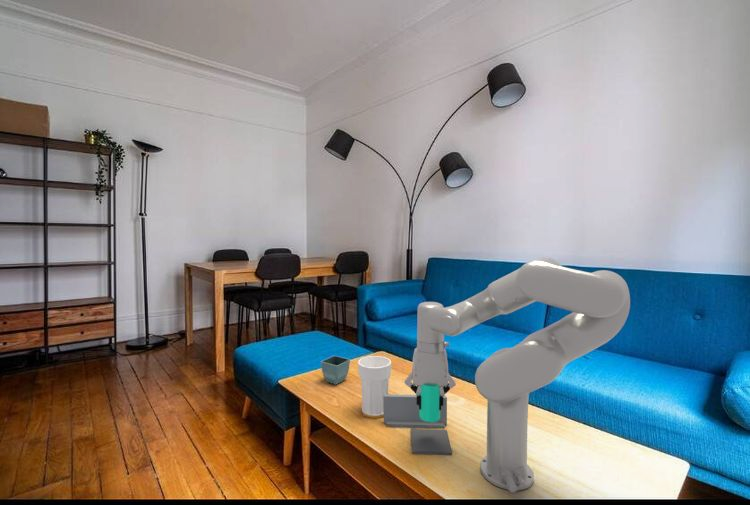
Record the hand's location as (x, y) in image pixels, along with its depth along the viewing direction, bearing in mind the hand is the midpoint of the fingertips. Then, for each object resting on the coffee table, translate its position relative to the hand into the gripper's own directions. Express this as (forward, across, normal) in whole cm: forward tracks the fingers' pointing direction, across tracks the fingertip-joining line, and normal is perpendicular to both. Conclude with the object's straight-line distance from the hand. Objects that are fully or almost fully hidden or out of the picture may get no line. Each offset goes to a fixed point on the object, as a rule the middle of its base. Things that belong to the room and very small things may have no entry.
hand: (429, 406), depth 101 cm
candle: (+3, 0, 0) cm, 3 cm away
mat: (+11, 0, 0) cm, 11 cm away
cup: (+11, +17, -17) cm, 26 cm away
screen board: (+11, +4, -10) cm, 15 cm away
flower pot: (+11, +35, -40) cm, 54 cm away
